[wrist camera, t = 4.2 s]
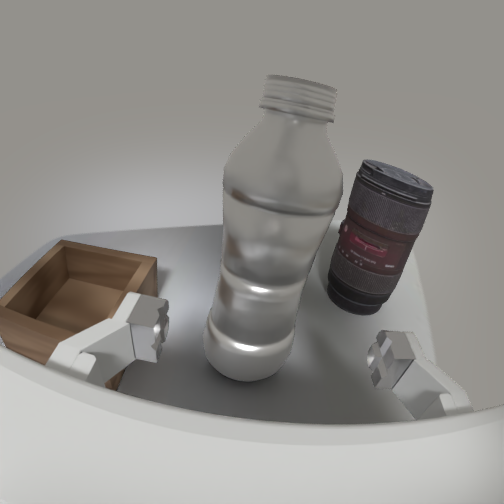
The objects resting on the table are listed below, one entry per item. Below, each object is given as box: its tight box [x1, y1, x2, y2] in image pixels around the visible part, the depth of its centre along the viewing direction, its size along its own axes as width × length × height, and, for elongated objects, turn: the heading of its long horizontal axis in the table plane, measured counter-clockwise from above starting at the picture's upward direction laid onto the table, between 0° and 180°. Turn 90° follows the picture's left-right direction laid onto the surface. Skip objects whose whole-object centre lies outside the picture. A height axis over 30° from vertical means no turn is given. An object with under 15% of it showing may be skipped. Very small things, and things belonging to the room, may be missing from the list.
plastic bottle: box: [203, 75, 343, 382], centre depth 18 cm, size 6×7×20 cm
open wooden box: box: [0, 240, 158, 391], centre depth 22 cm, size 12×10×4 cm
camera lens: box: [327, 160, 433, 315], centre depth 29 cm, size 8×8×15 cm
